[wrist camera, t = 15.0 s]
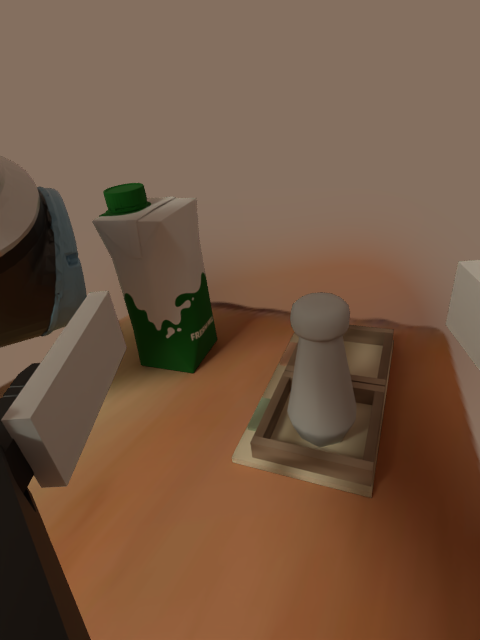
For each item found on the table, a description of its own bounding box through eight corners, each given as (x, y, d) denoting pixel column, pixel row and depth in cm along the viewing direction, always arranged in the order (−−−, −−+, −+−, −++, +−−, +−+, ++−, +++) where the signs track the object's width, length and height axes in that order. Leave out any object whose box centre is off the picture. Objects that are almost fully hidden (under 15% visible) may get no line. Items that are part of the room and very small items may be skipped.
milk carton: (166, 329, 55) (128, 178, 44) (227, 336, 51) (202, 174, 41) (130, 369, 48) (75, 200, 38) (198, 380, 45) (158, 199, 34)
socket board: (232, 462, 35) (228, 442, 33) (296, 333, 50) (295, 317, 49) (371, 497, 30) (373, 477, 29) (393, 344, 46) (394, 327, 45)
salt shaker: (294, 403, 39) (286, 282, 32) (355, 408, 37) (361, 282, 31) (284, 451, 34) (273, 320, 27) (354, 459, 33) (360, 323, 26)
